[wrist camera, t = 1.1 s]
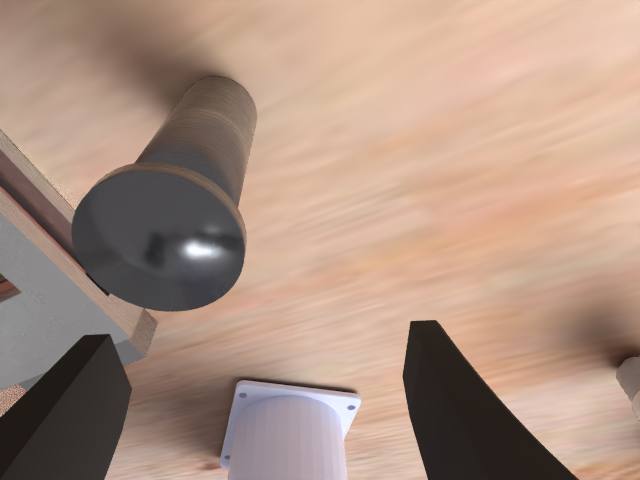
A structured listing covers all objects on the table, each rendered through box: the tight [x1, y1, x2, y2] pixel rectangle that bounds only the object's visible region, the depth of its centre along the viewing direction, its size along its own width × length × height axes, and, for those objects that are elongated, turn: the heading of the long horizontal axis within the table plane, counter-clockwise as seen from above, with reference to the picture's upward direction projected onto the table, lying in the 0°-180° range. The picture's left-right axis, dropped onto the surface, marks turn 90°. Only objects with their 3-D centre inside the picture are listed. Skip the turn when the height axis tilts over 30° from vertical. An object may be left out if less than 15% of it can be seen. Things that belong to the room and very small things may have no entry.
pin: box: [71, 76, 257, 311], centre depth 14 cm, size 4×4×10 cm
